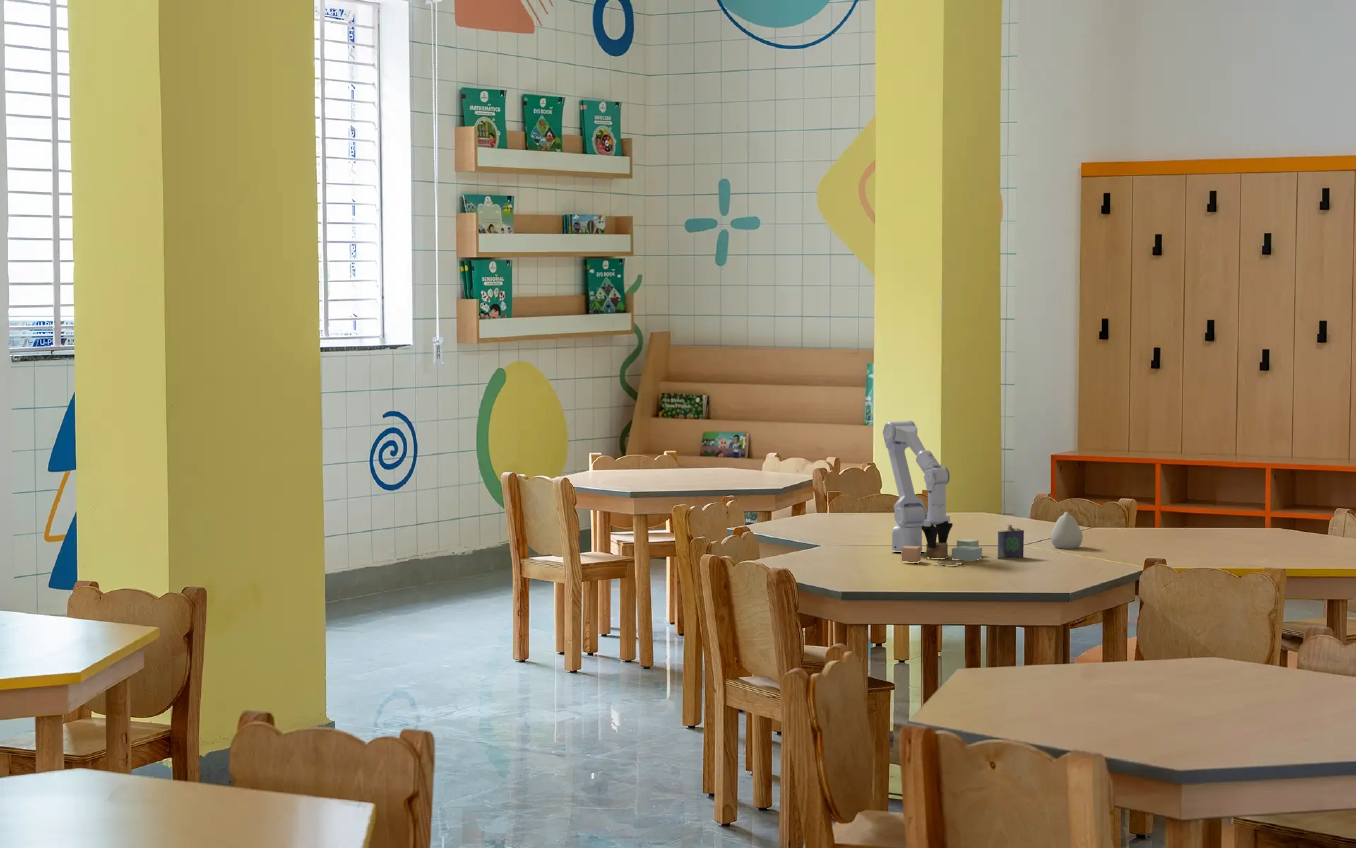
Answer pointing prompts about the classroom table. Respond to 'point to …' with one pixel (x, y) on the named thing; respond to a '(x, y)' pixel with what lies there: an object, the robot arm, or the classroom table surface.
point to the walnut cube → (937, 551)
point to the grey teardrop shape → (1066, 533)
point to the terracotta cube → (911, 553)
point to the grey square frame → (947, 563)
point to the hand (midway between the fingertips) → (937, 546)
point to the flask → (1010, 543)
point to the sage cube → (968, 543)
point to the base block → (967, 553)
